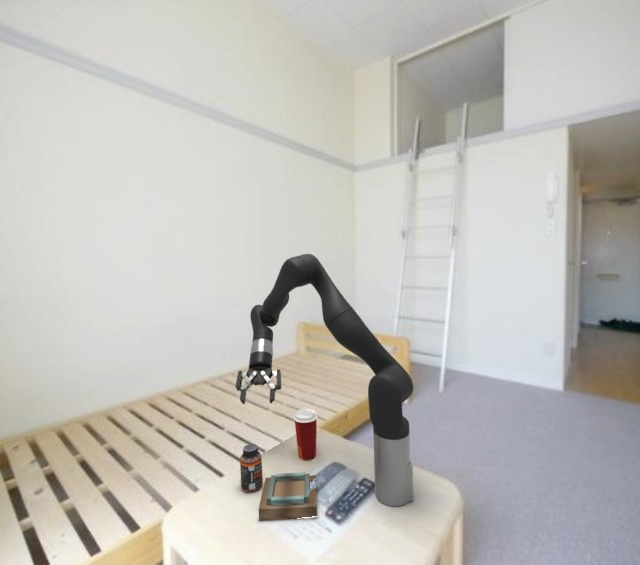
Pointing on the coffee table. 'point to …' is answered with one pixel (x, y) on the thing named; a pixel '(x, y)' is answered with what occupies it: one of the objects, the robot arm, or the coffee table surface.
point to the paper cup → (306, 433)
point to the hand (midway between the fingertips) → (257, 402)
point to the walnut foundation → (288, 497)
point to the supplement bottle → (251, 468)
